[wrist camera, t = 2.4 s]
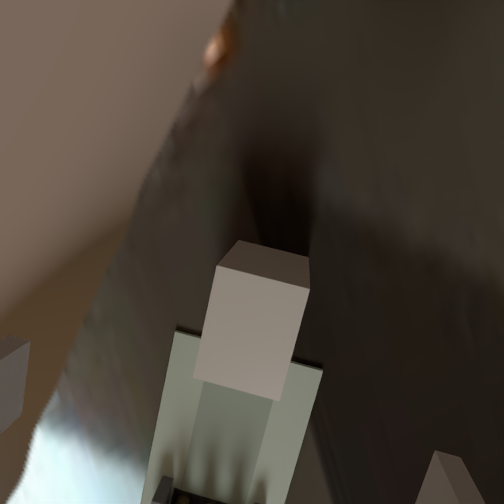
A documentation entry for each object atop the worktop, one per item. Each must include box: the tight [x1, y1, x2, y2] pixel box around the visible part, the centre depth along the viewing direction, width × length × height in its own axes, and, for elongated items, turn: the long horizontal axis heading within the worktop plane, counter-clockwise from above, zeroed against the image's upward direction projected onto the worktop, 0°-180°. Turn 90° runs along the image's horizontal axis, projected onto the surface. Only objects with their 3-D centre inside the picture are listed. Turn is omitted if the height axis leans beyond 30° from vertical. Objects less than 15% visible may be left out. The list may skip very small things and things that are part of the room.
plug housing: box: [193, 240, 310, 401], centre depth 24 cm, size 6×4×7 cm
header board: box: [141, 330, 323, 504], centre depth 29 cm, size 14×10×3 cm
